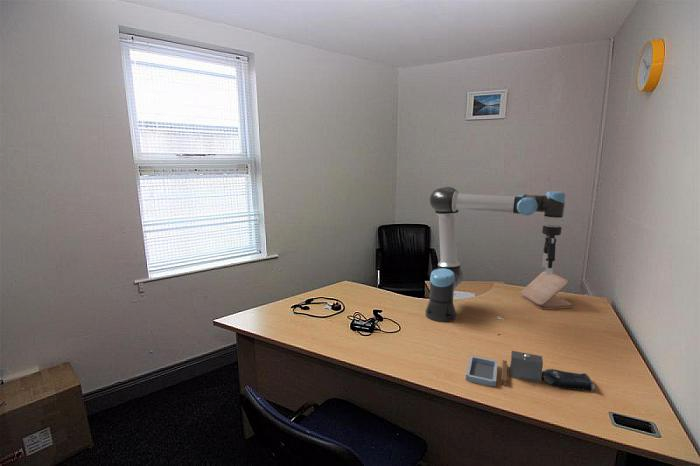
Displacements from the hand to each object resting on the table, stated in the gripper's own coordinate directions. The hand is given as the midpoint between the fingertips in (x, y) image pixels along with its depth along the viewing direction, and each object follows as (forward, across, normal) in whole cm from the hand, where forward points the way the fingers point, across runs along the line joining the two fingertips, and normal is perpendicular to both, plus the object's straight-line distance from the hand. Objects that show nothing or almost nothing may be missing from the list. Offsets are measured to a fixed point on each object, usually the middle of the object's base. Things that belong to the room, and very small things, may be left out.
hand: (546, 270), depth 168 cm
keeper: (+28, -54, +24) cm, 65 cm away
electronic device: (+28, -48, -4) cm, 56 cm away
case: (+28, +34, -6) cm, 45 cm away
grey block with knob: (+28, -50, +9) cm, 58 cm away
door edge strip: (+27, -52, +16) cm, 61 cm away
